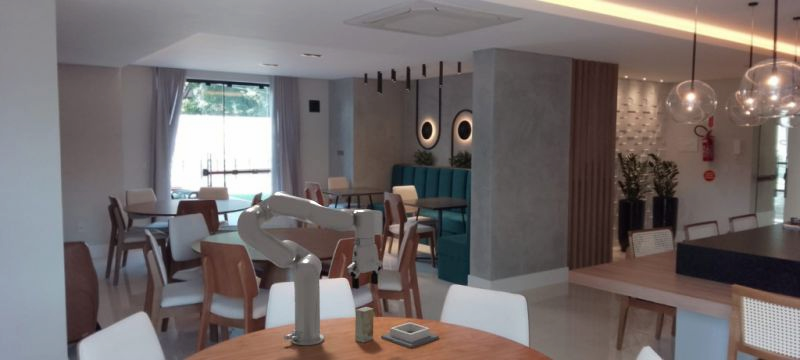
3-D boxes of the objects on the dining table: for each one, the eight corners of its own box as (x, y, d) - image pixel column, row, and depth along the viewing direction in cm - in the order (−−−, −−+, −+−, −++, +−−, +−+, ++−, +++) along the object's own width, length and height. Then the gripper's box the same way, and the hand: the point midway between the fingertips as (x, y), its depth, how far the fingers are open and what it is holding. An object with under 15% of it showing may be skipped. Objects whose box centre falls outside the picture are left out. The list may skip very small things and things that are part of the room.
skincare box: (363, 343, 219) (363, 311, 219) (354, 341, 222) (354, 309, 221) (374, 338, 224) (374, 308, 224) (365, 336, 227) (365, 306, 226)
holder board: (410, 348, 214) (410, 337, 214) (381, 338, 225) (381, 328, 225) (438, 338, 225) (439, 328, 225) (409, 329, 237) (409, 319, 236)
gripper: (354, 245, 212) (354, 291, 213) (387, 240, 225) (388, 283, 225) (341, 243, 217) (341, 288, 218) (374, 238, 230) (374, 280, 231)
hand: (365, 286), depth 222 cm, fingers open, 9 cm apart
